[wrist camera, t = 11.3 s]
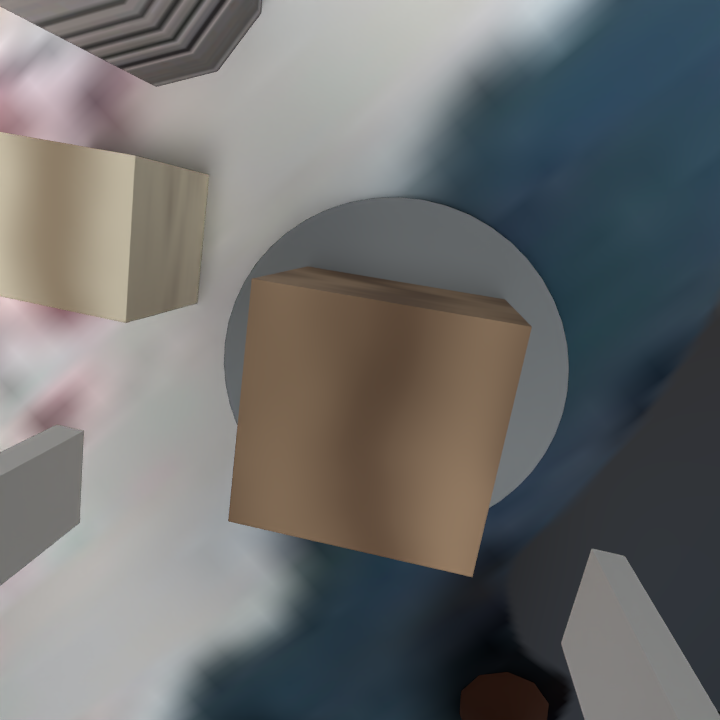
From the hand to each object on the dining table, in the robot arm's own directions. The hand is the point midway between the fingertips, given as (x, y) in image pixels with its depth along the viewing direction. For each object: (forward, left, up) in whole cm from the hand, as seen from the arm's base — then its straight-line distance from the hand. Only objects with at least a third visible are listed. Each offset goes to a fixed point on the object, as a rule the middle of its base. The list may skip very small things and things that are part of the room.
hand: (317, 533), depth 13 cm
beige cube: (-15, +5, -16) cm, 23 cm away
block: (0, 0, -15) cm, 15 cm away
